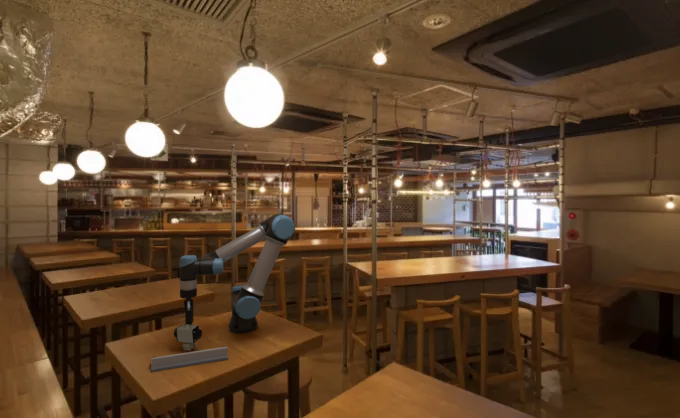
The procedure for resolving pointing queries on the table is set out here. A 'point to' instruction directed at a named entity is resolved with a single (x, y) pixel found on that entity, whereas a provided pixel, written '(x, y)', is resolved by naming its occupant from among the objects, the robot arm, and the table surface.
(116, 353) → the table surface
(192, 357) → the curved pull handle
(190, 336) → the pneumatic valve
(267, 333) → the table surface
